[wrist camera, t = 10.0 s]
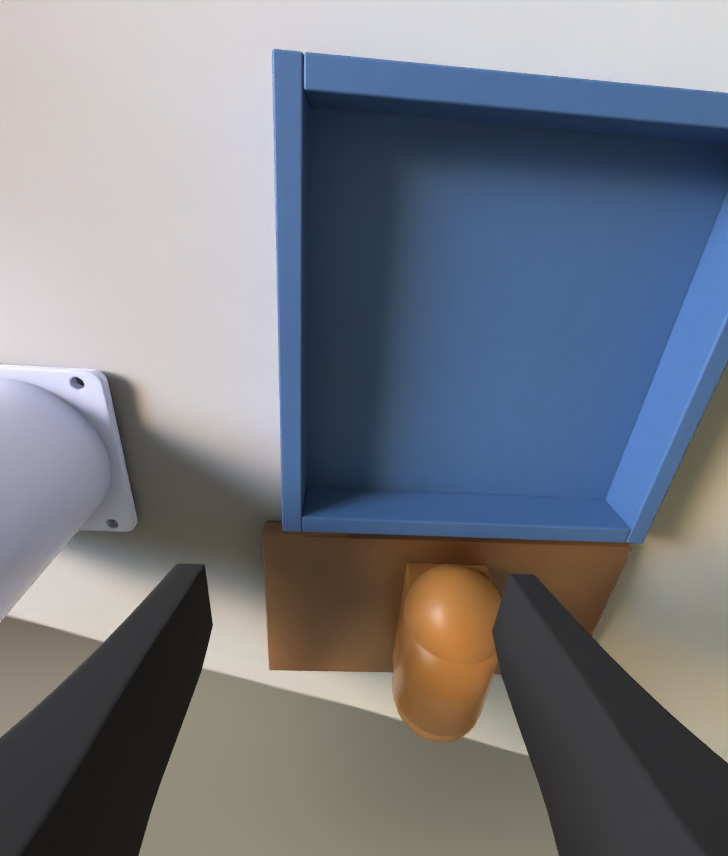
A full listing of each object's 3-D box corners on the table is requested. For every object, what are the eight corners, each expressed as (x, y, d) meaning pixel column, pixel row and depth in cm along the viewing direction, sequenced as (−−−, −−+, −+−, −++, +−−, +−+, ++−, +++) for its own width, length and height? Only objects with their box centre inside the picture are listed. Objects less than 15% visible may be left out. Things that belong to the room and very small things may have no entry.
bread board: (271, 654, 25) (269, 670, 25) (266, 521, 21) (262, 534, 20) (566, 660, 26) (573, 676, 26) (621, 534, 22) (633, 547, 21)
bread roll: (385, 671, 25) (391, 762, 21) (403, 541, 20) (417, 624, 16) (463, 672, 25) (485, 763, 21) (498, 544, 21) (534, 627, 17)
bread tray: (290, 493, 20) (282, 531, 18) (286, 77, 13) (271, 47, 11) (609, 506, 21) (643, 544, 19) (765, 121, 14) (851, 103, 12)
